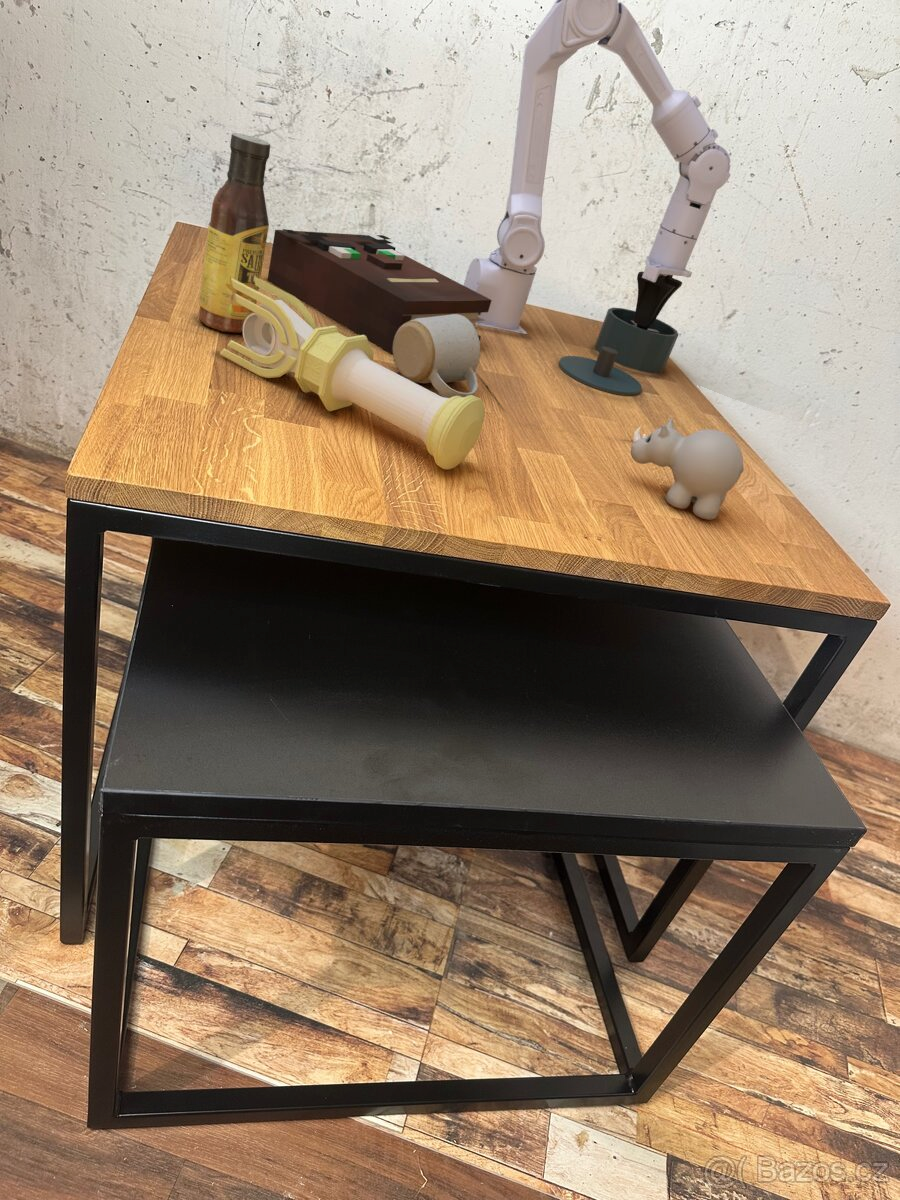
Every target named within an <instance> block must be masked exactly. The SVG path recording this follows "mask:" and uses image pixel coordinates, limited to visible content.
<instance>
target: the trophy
mask: <svg viewBox="0 0 900 1200" xmlns="http://www.w3.org/2000/svg"><path fill="white" fill-rule="evenodd" d="M254 281H255V285H256V286H257V287H259V289H261V290H264V291H265V292H267V293H269V294H271V295H273V296H274V297H276V298H279V299H274V298H272V297H270V296H268V295H266V294H265V293H262V292H261V291H259V290H258V291H256V290H254V289H252V288H250V287H248V286H246V285H244V284H242V283H241V282H239V281H237V280H235V279H233V278H231V282H232V286H233V288H234V289H236V290H238V291H240V292H242V293H244V294H246V295H248V296H249V297H251V298H253V299H255V300H257V302H259V303H260V305H258V304H257V303H256V304H254V303H253V302H251V301H249V300H247V299H245V298H243V297H241V296H239V295H237V294H235V297H236V302H237V303H238V304H240V305H242V306H244V307H245V308H247V309H249V310H251V311H253V312H255V313H252V314H250V315H248V316H247V318H246V319H245V321H244V324H243V332H242V338H243V341H244V344H245V345H242V344H240V343H238V342H236V341H235V340H232V339H230V340H229V342H228V344H227V347H228V348H229V349H231V350H234V351H236V352H238V353H240V354H242V355H243V356H246V358H249V359H251V361H249V360H247V359H246V358H244V357H241V356H239V355H237V354H235V353H233V352H232V351H230V350H229V349H227V348H222V350H221V351H220V352H219V355H220V356H222V357H223V358H225V359H228V360H229V361H231V362H232V363H234V364H237V365H238V366H240V367H242V368H244V369H246V370H248V371H249V372H251V373H253V374H254V375H257V376H259V377H262V378H266V379H271V378H272V379H273V378H281V377H282V376H283V375H285V374H294V376H293V377H294V379H295V381H296V382H297V385H298V386H299V387H300V389H301V391H302V392H304V393H305V394H307V393H310V392H313V393H315V394H316V395H318V397H319V399H320V400H321V402H322V404H323V406H324V408H325V409H326V411H328V412H334V411H336V410H339V409H343V408H347V407H350V406H352V405H353V404H355V405H357V406H359V407H360V408H362V409H364V410H366V411H367V412H370V413H372V414H373V415H375V416H377V417H379V418H380V419H383V420H385V421H387V422H388V423H390V424H392V425H394V426H396V427H397V428H399V429H401V430H403V431H405V432H407V433H409V434H411V436H414V437H416V438H418V439H419V440H421V441H422V442H423V443H424V444H425V448H426V451H427V452H428V454H430V455H431V456H433V459H434V462H435V464H436V465H437V466H438V467H440V468H441V469H443V470H451V469H454V468H456V467H457V466H459V465H460V464H461V463H462V462H463V461H464V460H465V459H466V457H467V456H468V455H469V454H470V452H471V451H472V450H473V448H474V447H475V445H476V444H477V442H478V439H479V438H480V435H481V431H482V428H483V424H484V420H485V412H486V411H485V410H486V409H485V408H486V407H485V404H484V402H483V400H482V399H481V398H480V397H478V396H475V395H469V396H466V397H461V396H453V397H451V398H445V397H443V396H442V395H439V394H437V393H436V392H433V391H432V390H430V389H427V387H426V388H425V387H423V386H422V385H420V384H419V383H416V382H412V381H410V380H408V379H406V378H404V377H403V376H402V375H401V374H398V373H397V372H395V371H392V370H391V369H389V368H387V367H384V366H383V365H381V364H379V363H378V362H376V361H373V359H374V356H375V355H374V351H373V349H372V347H371V344H370V341H369V340H368V339H367V337H366V336H365V335H359V334H358V335H354V336H349V337H347V336H346V335H343V334H342V333H340V330H339V327H337V326H336V325H329V326H322V327H317V325H316V322H315V320H314V317H313V315H312V313H310V311H309V310H308V308H307V307H306V306H305V304H304V302H303V301H302V300H300V299H298V298H297V297H295V296H293V295H292V294H290V293H288V292H287V291H285V290H283V289H281V288H280V287H278V286H276V285H274V284H271V283H269V282H267V281H265V280H263V279H261V278H260V279H259V278H257V277H255V276H254ZM288 304H289V305H292V307H294V308H295V309H296V310H297V311H298V312H299V313H300V314H301V316H302V317H303V318H302V317H301V316H300V315H299V314H298V313H297V312H296V311H295V310H293V309H292V308H291V306H289V305H288Z"/></svg>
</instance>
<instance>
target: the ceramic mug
mask: <svg viewBox="0 0 900 1200" xmlns="http://www.w3.org/2000/svg"><path fill="white" fill-rule="evenodd" d="M478 335H479V334H478V332H477V329H476V327H475V328H474V326H473V324H472V323H471V322H470V321H469V320H468V319H467V318H466V317H464V316H462V315H459V314H451V315H444V316H435V317H426V318H417V319H414V320H411V321H408V322H406V323H404V324H403V325H402V326H401V327H400V328H399V329H398V331H397V332H396V334H395V337H394V341H393V355H392V357H393V361H394V364H395V366H396V369H397V370H398V372H399V373H400V374H399V375H400V376H402V377H404V378H406V379H408V380H410V381H412V382H414V383H416V384H431V385H432V386H433V388H434V389H435V390H436V391H437V393H438V394H440V396H441V397H445V398H451V397H453V396H461V397H466V396H469V395H473V396H475V394H476V393H477V391H478V379H477V375H476V373H475V371H476V370H477V367H478V365H479V363H480V359H481V342H480V341H479V337H478ZM463 381H466V383H467V385H468V386H467V387H468V389H469V392H462V391H457V390H456V389H454V388H451V387H450V386H449V385H448V384H447V383H458V382H463Z"/></svg>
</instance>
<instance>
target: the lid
mask: <svg viewBox="0 0 900 1200" xmlns="http://www.w3.org/2000/svg"><path fill="white" fill-rule="evenodd" d="M617 354H618V352H617V351H616V350H614V349H612V348H609V347H602V348H601V350H600V353H599V352H598V356H597V359H592V358H589V357H585V356H576V355H566V356H562V357H561V358H560V359H559V361H558V366H559V369H560V370H561V371H562V372H563V373H565V374H566V375H567V376H569V377H570V378H572V379H573V380H575V381H576V382H579V383H581V384H584V385H586V386H588V387H591V388H593V389H596V390H599V391H601V392H604V393H609V394H613V395H619V396H628V397H629V396H637V395H639V394H640V393H641V391H642V390H643V388H642V384H641V383H640V382H639V380H637V379H636V378H635V377H634V376H632V375H631V374H630V373H627V372H626V371H624V370H622V369H620V368H618V367H616V366H614V365H615V363H616V362H615V359H616V357H617Z"/></svg>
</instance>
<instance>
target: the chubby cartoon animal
mask: <svg viewBox="0 0 900 1200" xmlns="http://www.w3.org/2000/svg"><path fill="white" fill-rule="evenodd" d="M641 428H642V426H639V427H638V428H637V429H636V430H635V431H634V433H633V437H632V444H631V447H630V457H631V458H632V460H633V461H634V462H635V463H638V464H641V465H645V464H649V463H651V464H652V465H656V466H658V467H659V468H660V467H661V468H664V467H666V468H667V467H668V468H670V470H671V472H672V476H673V479H674V483H673V484H672V485H671V486H670V488H669V489H668V491H667V493H666V495H665V500H666V502H667V504H669V505H670V506H672V507H674V508H676V509H683V510H684V509H687V508H688V507H689V506H690V504H691V503H693V506H692V513H693V514H694V515H695V516H696V517H698V518H700V519H704V520H711V521H712V520H714V519H716V518H717V516H718V514H719V512H720V507H722V505H723V504H724V503H725V500H726V497H727V493H728V492H729V491H730V490H732V489H733V488H734V487H735V486H736V484H737V483H738V482H739V479H740V477H741V475H742V474H743V472H744V471H745V467H744V456H743V453H742V450H741V447H740V446H739V444H738V442H737V441H736V440H735V439H734V438H733V437H732V436H731V435H729V434H727V433H726V432H724V431H722V430H718V429H711V428H709V429H708V428H706V429H700V430H696V431H694V432H692V433H690V434H688V435H686V436H683V435H682V434H681V433H680V432H679V431H678V430H677V429H675V428H674V420H673V418H670V419H668V421H667V424H666V425H665V424H662V425H661V427H658V428H656V429H655V430H653V431H652V432H651V433H650V434H648V435H647V434H646V433H643V435H642V436H641Z"/></svg>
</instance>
